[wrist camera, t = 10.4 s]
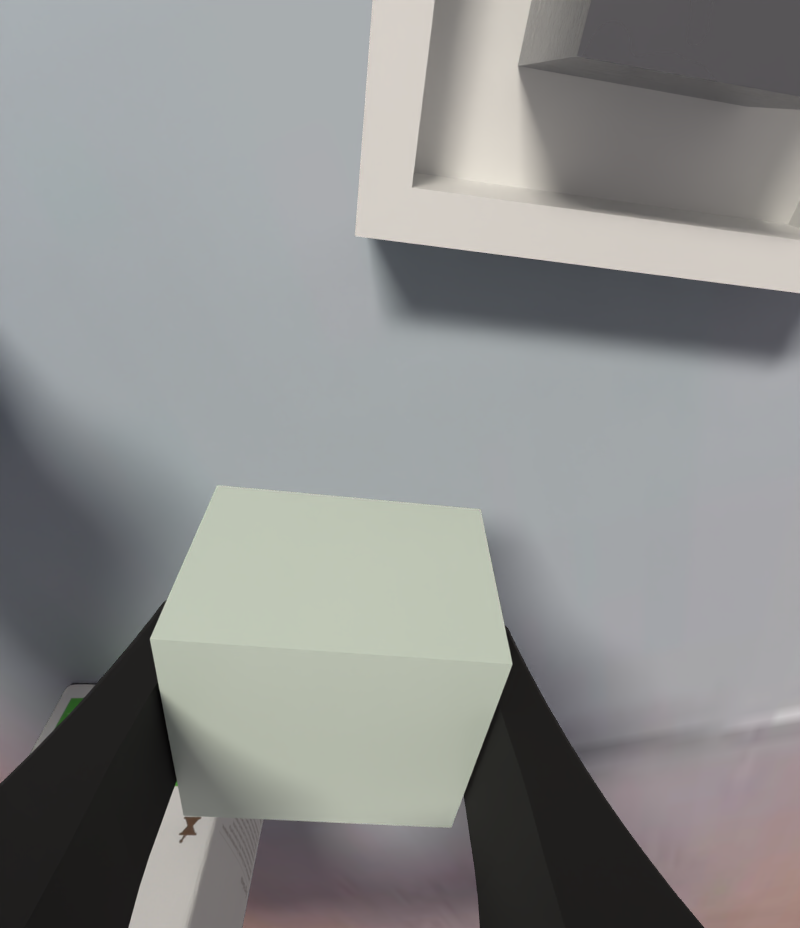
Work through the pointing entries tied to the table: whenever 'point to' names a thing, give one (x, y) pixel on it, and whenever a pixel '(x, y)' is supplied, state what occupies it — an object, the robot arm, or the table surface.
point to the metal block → (673, 46)
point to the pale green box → (330, 659)
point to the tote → (566, 157)
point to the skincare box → (187, 859)
